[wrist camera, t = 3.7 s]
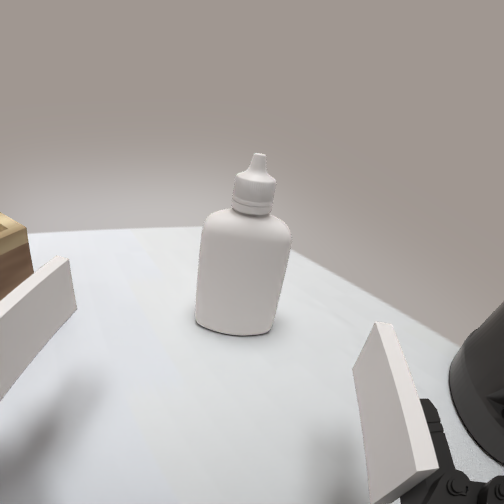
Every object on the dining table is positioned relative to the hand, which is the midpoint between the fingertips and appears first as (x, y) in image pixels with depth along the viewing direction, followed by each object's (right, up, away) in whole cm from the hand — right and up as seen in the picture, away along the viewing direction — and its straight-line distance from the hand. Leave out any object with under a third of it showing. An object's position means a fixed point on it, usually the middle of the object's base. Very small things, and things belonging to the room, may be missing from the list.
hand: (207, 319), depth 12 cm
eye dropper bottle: (0, -3, +10) cm, 11 cm away
